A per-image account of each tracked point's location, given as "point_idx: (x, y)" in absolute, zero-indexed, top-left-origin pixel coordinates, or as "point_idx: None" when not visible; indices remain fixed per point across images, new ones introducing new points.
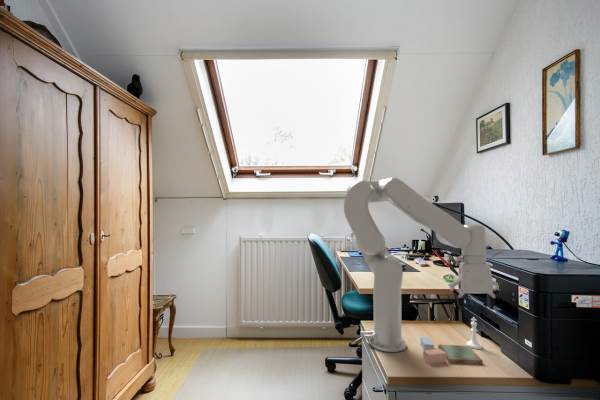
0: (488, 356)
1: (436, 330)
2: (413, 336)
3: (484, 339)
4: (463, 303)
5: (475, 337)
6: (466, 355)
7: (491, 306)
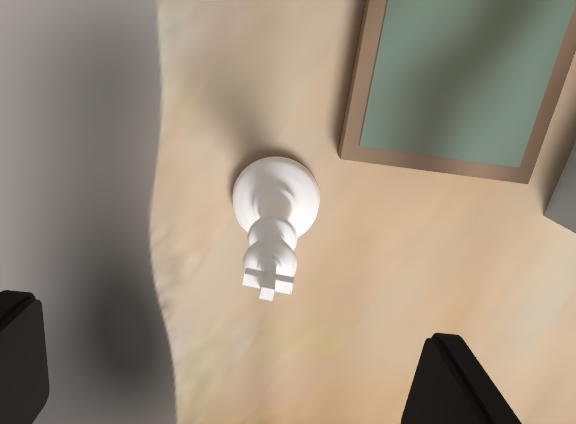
0: (267, 56)
1: (380, 388)
2: (562, 324)
3: (165, 278)
4: (469, 400)
5: (271, 207)
6: (448, 12)
7: (1, 320)
